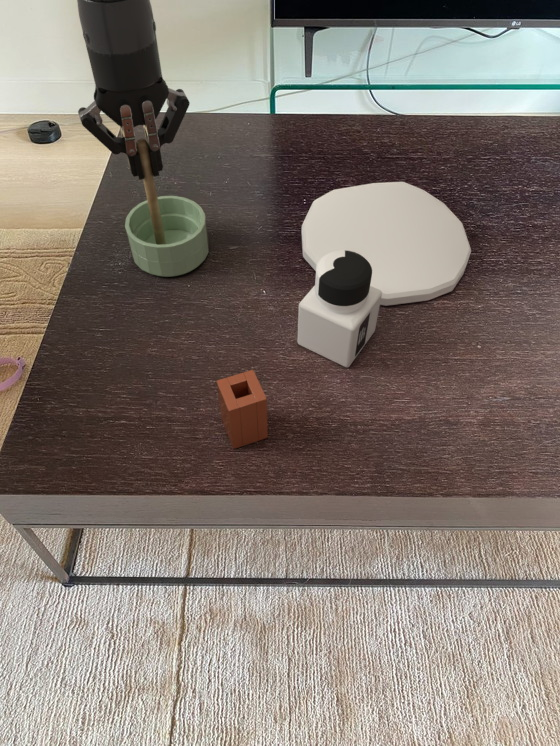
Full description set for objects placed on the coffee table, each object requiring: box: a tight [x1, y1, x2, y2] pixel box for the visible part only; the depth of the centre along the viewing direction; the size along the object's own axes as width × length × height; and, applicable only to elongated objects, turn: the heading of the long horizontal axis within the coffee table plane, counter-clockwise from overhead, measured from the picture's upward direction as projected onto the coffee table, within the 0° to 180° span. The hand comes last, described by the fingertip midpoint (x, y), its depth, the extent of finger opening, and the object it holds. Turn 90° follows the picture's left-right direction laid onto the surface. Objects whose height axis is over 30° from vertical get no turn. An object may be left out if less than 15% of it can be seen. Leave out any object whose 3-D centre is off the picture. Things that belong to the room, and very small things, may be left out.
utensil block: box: [216, 369, 269, 450], centre depth 70 cm, size 4×4×8 cm
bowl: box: [124, 195, 210, 278], centre depth 90 cm, size 11×11×6 cm
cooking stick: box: [135, 137, 166, 245], centre depth 83 cm, size 1×1×17 cm
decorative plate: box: [300, 181, 472, 307], centre depth 91 cm, size 25×4×25 cm
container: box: [296, 250, 382, 368], centre depth 77 cm, size 8×8×13 cm
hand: (147, 174), depth 80 cm, fingers closed on cooking stick, 1 cm apart
